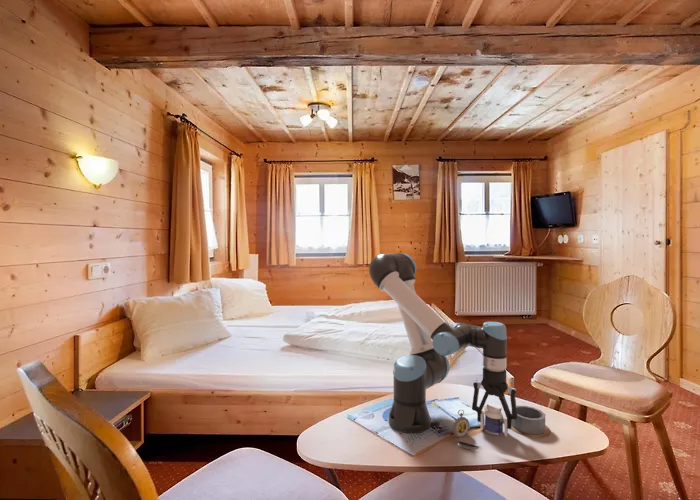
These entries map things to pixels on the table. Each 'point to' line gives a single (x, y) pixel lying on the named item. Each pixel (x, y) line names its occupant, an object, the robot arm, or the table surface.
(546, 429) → the board
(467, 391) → the table surface
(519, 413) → the grey round bowl
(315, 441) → the table surface
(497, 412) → the pill bottle
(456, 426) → the pocket watch
